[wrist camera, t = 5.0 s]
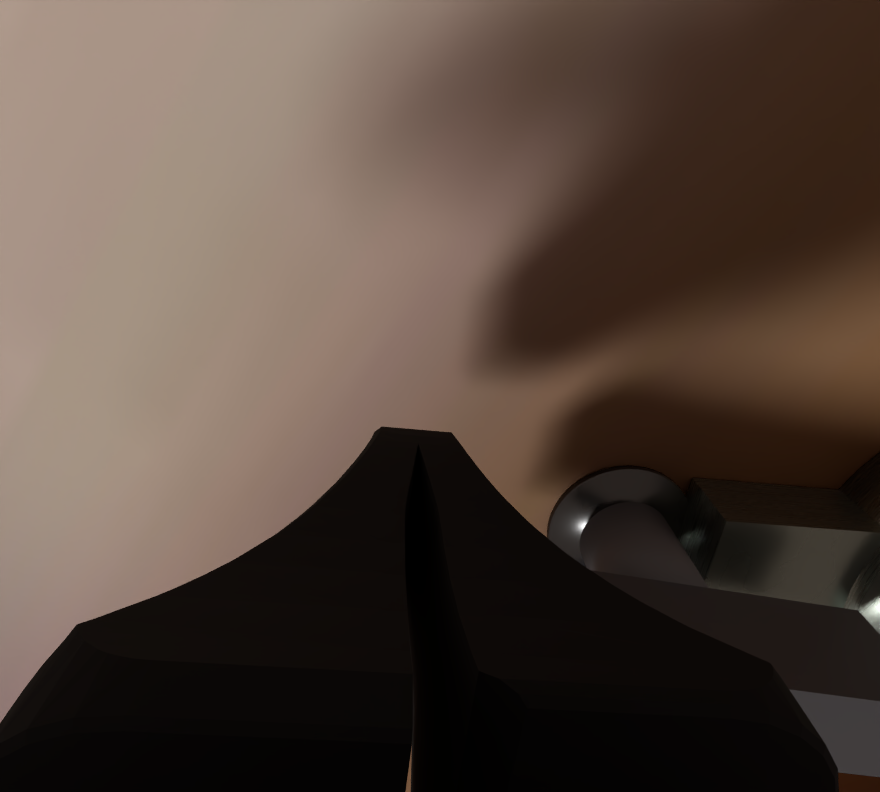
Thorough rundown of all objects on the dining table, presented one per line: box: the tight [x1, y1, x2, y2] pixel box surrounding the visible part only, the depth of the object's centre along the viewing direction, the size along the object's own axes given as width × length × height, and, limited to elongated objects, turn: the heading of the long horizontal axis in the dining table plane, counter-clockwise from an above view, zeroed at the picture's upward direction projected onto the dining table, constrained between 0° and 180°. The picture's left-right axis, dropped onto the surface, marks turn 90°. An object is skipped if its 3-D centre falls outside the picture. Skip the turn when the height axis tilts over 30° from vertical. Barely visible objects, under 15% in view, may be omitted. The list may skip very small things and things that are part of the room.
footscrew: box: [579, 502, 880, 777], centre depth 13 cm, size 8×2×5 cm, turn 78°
